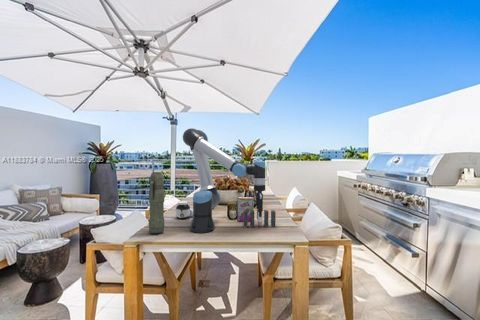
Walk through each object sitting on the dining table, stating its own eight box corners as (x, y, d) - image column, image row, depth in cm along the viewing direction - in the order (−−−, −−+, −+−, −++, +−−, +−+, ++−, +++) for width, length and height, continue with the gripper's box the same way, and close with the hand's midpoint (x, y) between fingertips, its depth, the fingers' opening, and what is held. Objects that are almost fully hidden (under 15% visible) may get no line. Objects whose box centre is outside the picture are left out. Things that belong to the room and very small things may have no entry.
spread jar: (174, 218, 180) (174, 202, 179) (182, 215, 190) (182, 200, 190) (188, 219, 176) (189, 203, 176) (196, 216, 187) (196, 200, 187)
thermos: (144, 233, 143) (144, 172, 143) (153, 228, 154) (154, 171, 154) (159, 234, 142) (159, 173, 142) (167, 228, 153) (168, 171, 153)
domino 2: (251, 227, 158) (251, 211, 158) (250, 225, 163) (250, 210, 163) (254, 227, 158) (254, 211, 158) (253, 225, 163) (253, 210, 163)
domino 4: (265, 227, 158) (265, 211, 158) (264, 225, 163) (264, 210, 163) (268, 227, 158) (268, 211, 158) (267, 225, 163) (267, 210, 163)
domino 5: (272, 227, 158) (272, 211, 158) (270, 225, 163) (271, 210, 163) (275, 227, 158) (275, 211, 158) (273, 225, 163) (274, 209, 163)
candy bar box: (237, 221, 172) (237, 197, 172) (237, 219, 177) (237, 196, 177) (253, 222, 171) (253, 198, 171) (253, 220, 176) (253, 197, 176)
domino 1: (244, 227, 157) (244, 211, 157) (243, 225, 162) (243, 210, 162) (247, 227, 157) (247, 211, 157) (246, 225, 162) (246, 210, 162)
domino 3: (258, 225, 158) (258, 209, 158) (257, 223, 163) (257, 207, 163) (261, 225, 158) (261, 209, 158) (260, 223, 163) (260, 207, 163)
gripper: (267, 186, 151) (267, 224, 151) (263, 183, 169) (263, 217, 169) (255, 186, 151) (255, 224, 151) (252, 183, 169) (252, 217, 169)
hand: (259, 220), depth 160 cm, fingers closed on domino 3, 5 cm apart
